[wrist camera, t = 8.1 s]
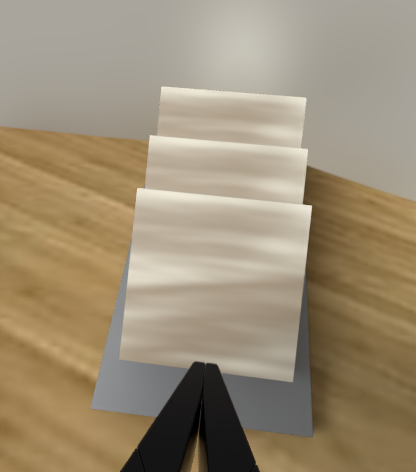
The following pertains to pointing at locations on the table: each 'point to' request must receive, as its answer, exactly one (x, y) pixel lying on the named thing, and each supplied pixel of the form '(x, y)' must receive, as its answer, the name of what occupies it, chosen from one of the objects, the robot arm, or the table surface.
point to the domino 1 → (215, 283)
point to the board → (167, 377)
